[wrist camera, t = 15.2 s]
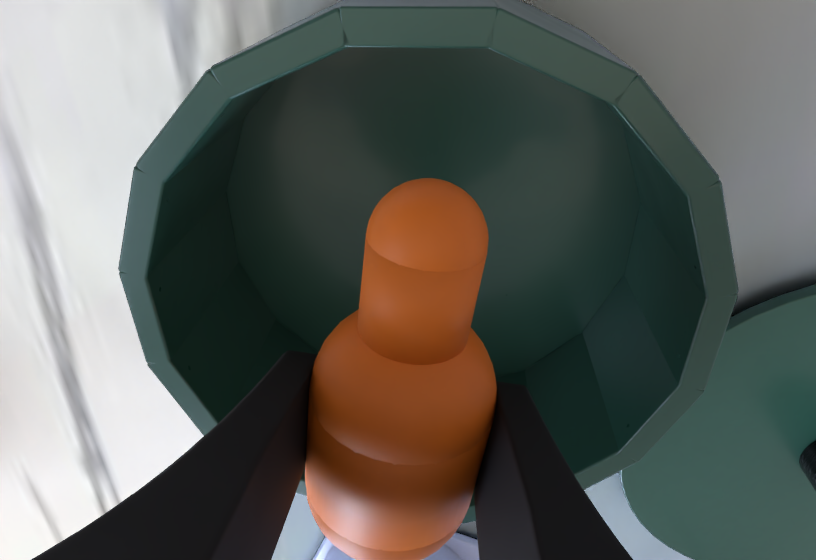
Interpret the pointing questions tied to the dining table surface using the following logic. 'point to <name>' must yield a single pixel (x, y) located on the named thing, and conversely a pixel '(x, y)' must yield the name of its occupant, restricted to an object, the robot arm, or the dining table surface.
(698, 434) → the pot lid
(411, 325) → the carrot
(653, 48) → the dining table surface
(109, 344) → the dining table surface
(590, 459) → the pot
